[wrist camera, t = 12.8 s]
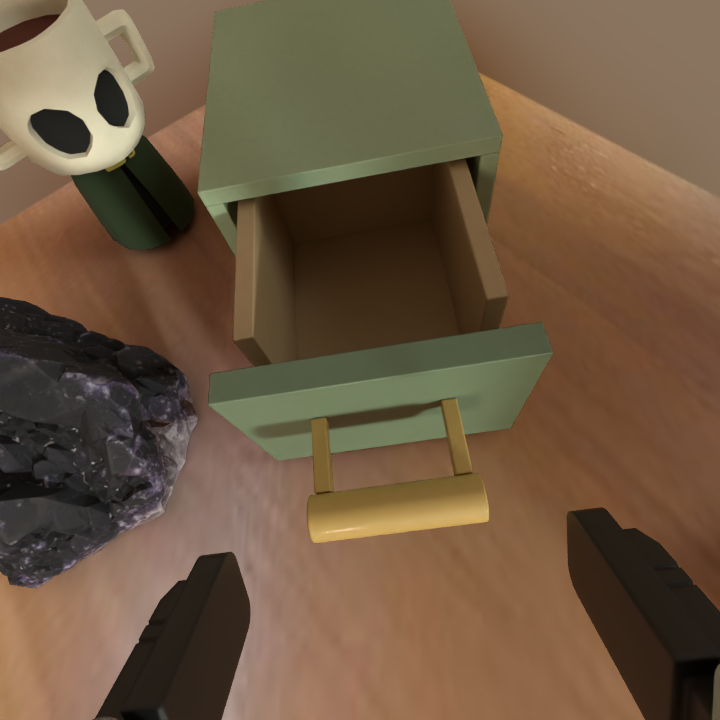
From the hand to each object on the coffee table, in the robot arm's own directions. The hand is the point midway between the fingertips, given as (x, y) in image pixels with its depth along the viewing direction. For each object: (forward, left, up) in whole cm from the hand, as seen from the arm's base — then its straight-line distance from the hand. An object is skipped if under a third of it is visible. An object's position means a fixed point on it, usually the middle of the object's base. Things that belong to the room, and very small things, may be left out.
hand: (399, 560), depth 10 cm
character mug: (+10, -27, -10) cm, 30 cm away
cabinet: (-4, -22, -10) cm, 24 cm away
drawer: (-2, -10, -9) cm, 14 cm away
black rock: (+15, -11, -10) cm, 21 cm away
